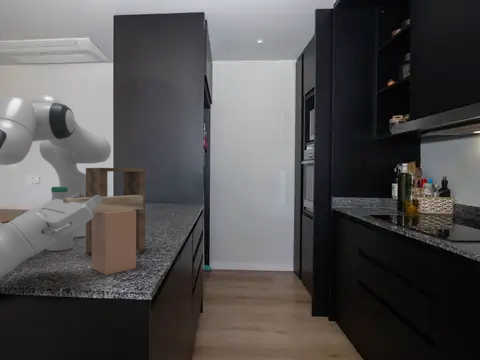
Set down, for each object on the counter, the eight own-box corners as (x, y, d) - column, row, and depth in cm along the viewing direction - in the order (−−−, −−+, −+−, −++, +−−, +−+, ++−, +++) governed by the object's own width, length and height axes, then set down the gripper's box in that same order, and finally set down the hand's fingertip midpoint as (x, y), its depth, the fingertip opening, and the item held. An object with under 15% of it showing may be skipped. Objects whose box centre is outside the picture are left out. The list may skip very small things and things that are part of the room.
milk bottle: (78, 247, 109) (78, 186, 109) (57, 252, 102) (56, 187, 102) (62, 245, 113) (62, 186, 112) (40, 250, 106) (40, 186, 105)
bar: (63, 213, 79) (62, 198, 79) (136, 207, 93) (136, 195, 92) (68, 214, 76) (68, 199, 76) (143, 208, 90) (143, 195, 90)
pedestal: (91, 268, 86) (91, 210, 86) (121, 262, 92) (121, 208, 92) (105, 275, 81) (105, 213, 80) (136, 268, 86) (136, 210, 86)
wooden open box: (86, 254, 101) (85, 167, 100) (129, 246, 111) (129, 168, 110) (100, 260, 94) (100, 167, 93) (145, 252, 104) (145, 168, 103)
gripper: (43, 223, 65) (103, 186, 73) (15, 214, 79) (68, 183, 87) (60, 249, 67) (117, 210, 76) (30, 235, 81) (81, 203, 90)
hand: (91, 196), depth 82 cm, fingers open, 8 cm apart
